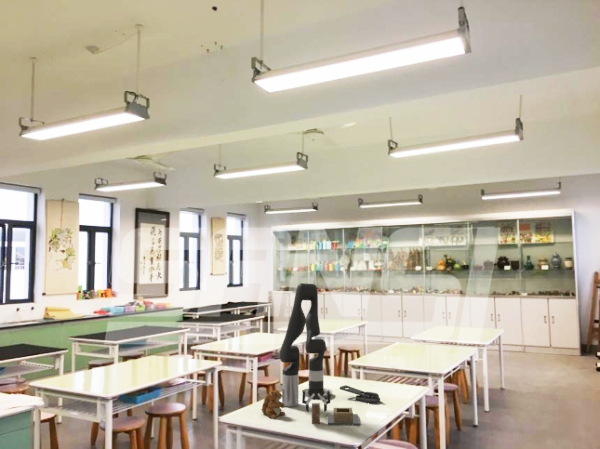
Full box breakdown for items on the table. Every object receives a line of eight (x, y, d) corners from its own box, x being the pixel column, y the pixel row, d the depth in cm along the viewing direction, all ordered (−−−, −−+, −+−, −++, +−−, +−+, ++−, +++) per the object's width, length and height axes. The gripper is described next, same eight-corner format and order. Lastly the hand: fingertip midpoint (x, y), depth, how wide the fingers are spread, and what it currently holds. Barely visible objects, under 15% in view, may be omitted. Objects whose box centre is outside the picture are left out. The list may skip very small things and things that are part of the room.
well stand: (327, 425, 237) (327, 414, 237) (327, 415, 253) (327, 406, 253) (360, 425, 236) (359, 415, 237) (357, 416, 252) (357, 406, 253)
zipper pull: (345, 384, 296) (381, 390, 282) (345, 395, 296) (382, 401, 281) (338, 387, 289) (375, 393, 275) (338, 398, 289) (375, 405, 274)
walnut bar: (311, 423, 239) (311, 405, 240) (312, 421, 243) (311, 403, 244) (319, 423, 239) (319, 405, 240) (319, 421, 243) (319, 403, 244)
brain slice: (339, 396, 296) (339, 391, 296) (321, 401, 283) (321, 396, 283) (315, 391, 308) (315, 386, 309) (297, 396, 296) (297, 391, 296)
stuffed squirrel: (274, 419, 246) (274, 393, 248) (256, 414, 256) (256, 389, 257) (287, 415, 254) (287, 390, 255) (269, 410, 263) (269, 386, 264)
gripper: (301, 380, 240) (302, 414, 238) (330, 380, 239) (330, 414, 238) (302, 377, 247) (302, 410, 245) (329, 377, 247) (330, 410, 245)
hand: (316, 411), depth 241 cm, fingers open, 8 cm apart
